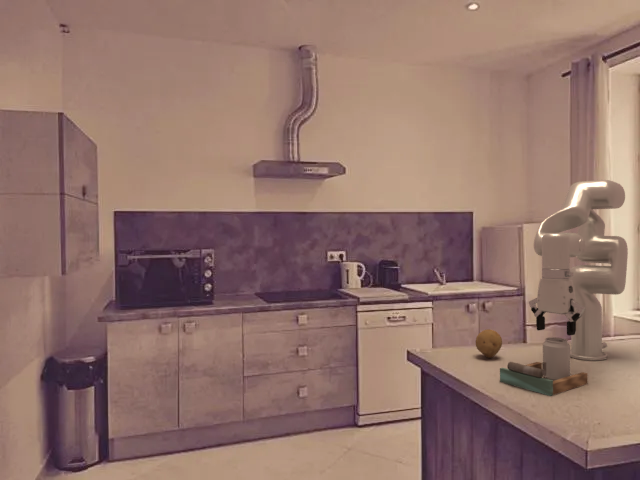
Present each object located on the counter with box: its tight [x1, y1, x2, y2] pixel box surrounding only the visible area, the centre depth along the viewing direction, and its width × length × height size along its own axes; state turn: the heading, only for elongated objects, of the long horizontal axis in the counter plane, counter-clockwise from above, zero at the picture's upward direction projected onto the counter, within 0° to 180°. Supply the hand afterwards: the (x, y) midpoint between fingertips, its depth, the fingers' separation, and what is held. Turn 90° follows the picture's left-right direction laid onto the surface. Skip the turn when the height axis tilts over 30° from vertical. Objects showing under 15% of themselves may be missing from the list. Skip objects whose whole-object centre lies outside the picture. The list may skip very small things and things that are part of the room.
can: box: [542, 336, 571, 381], centre depth 156 cm, size 8×8×12 cm
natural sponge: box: [475, 328, 503, 359], centre depth 182 cm, size 9×9×10 cm
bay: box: [499, 361, 589, 397], centre depth 152 cm, size 19×16×9 cm
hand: (555, 332), depth 155 cm, fingers open, 9 cm apart
